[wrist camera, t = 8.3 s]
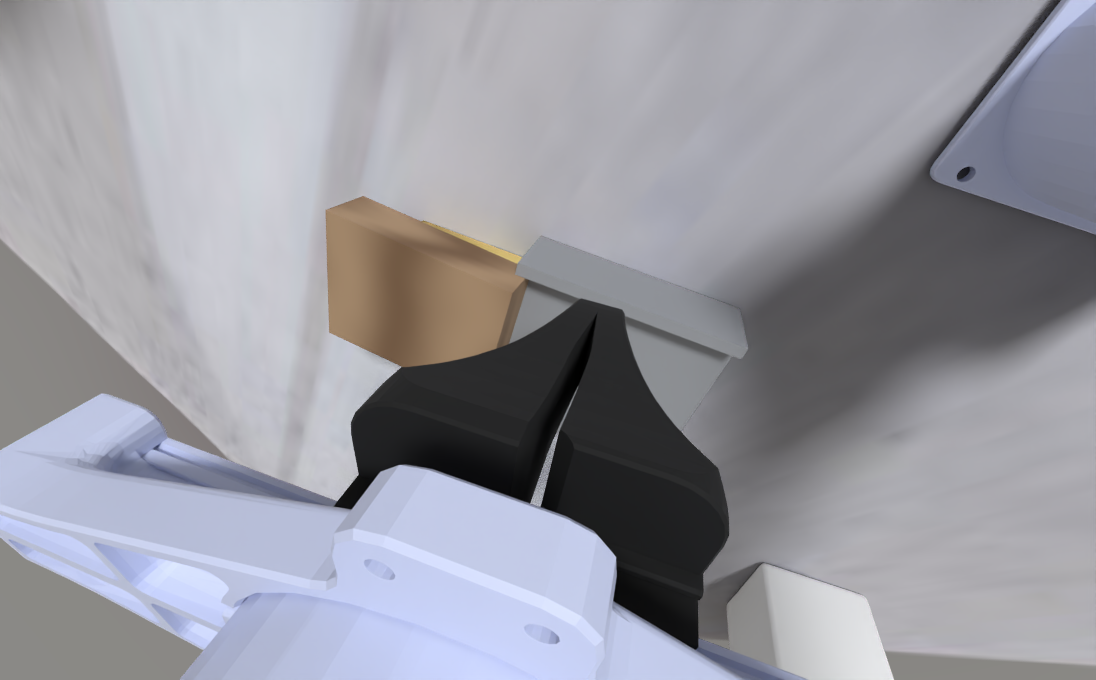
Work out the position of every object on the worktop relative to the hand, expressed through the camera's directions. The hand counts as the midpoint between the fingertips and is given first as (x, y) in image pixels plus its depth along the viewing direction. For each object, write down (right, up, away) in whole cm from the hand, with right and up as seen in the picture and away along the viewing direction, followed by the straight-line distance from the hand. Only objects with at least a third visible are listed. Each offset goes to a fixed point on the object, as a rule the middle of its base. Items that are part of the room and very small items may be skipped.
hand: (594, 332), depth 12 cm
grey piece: (+2, 0, +11) cm, 11 cm away
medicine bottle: (+17, -20, +19) cm, 32 cm away
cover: (-7, +2, +10) cm, 12 cm away
